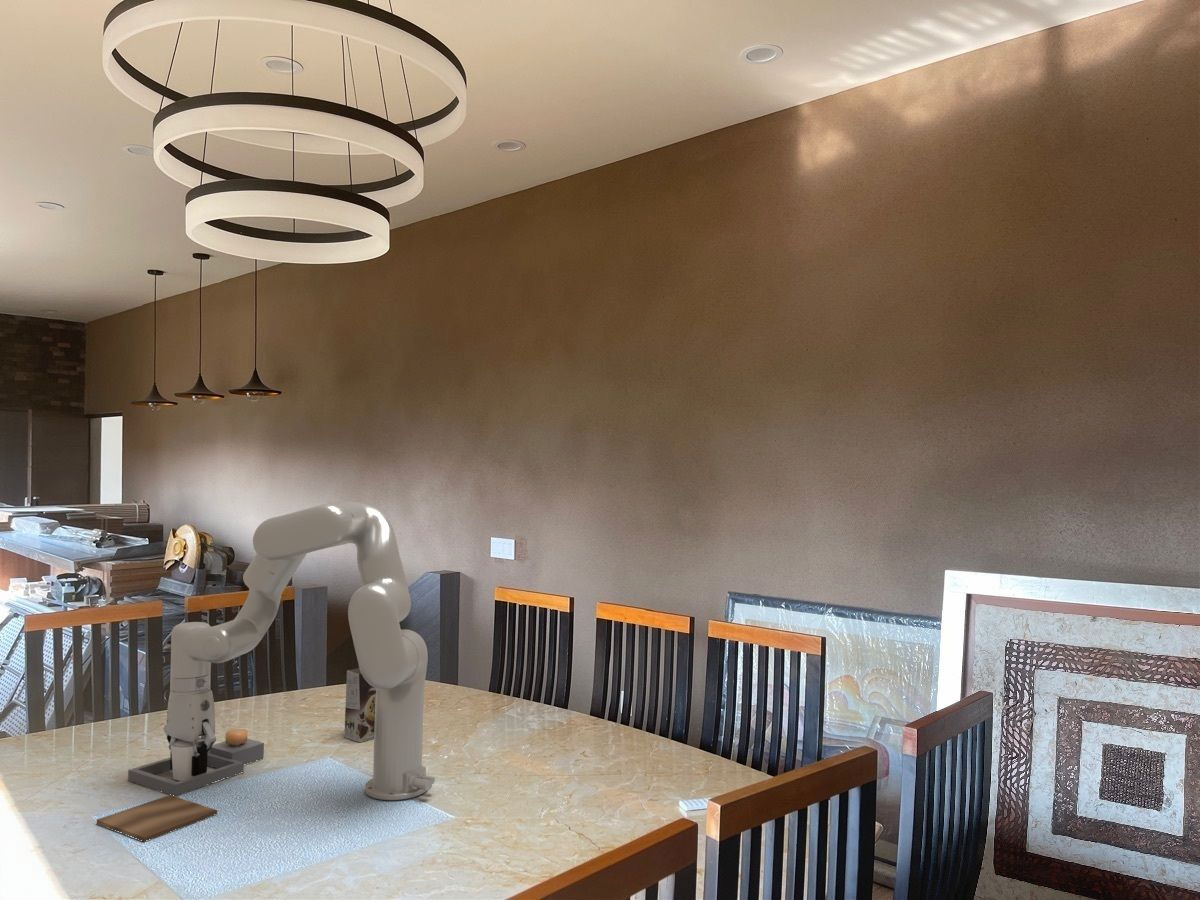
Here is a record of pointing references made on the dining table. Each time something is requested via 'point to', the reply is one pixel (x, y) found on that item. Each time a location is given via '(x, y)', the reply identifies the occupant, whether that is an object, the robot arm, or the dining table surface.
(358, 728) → the coffee box
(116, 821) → the walnut mat
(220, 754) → the housing
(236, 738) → the orange rounded piece
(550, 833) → the dining table surface
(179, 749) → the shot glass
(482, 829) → the dining table surface
